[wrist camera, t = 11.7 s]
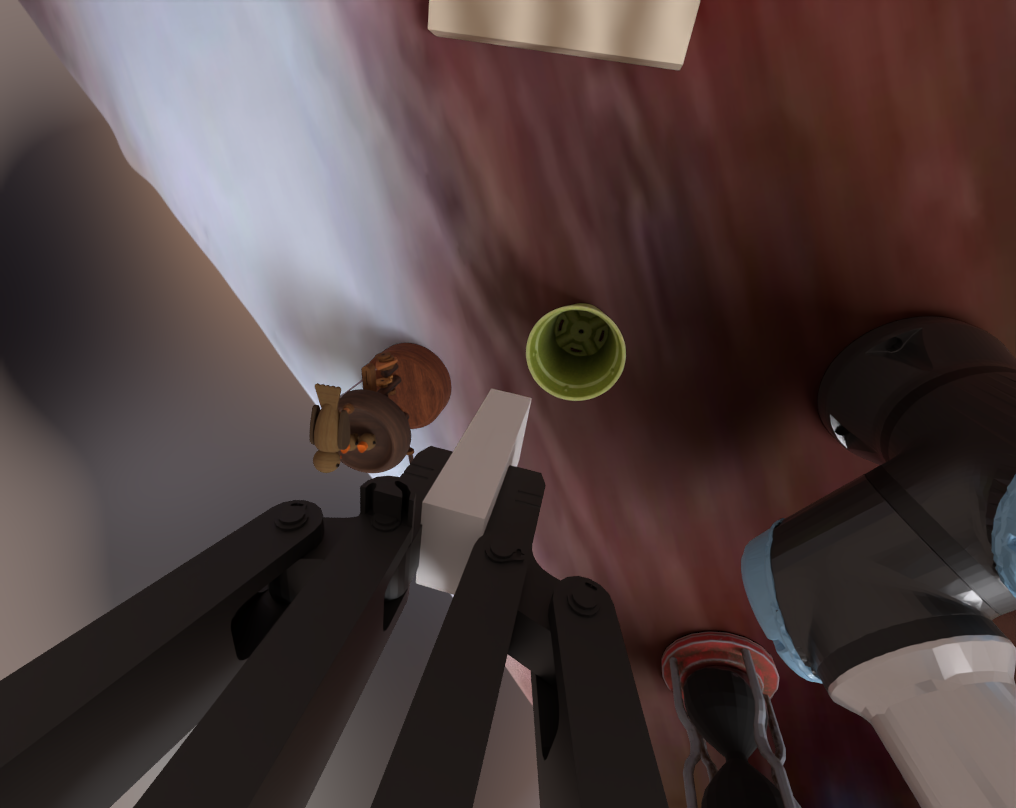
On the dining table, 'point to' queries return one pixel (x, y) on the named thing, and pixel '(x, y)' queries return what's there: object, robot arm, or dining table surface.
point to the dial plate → (574, 27)
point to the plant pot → (570, 369)
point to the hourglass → (728, 718)
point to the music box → (379, 410)
